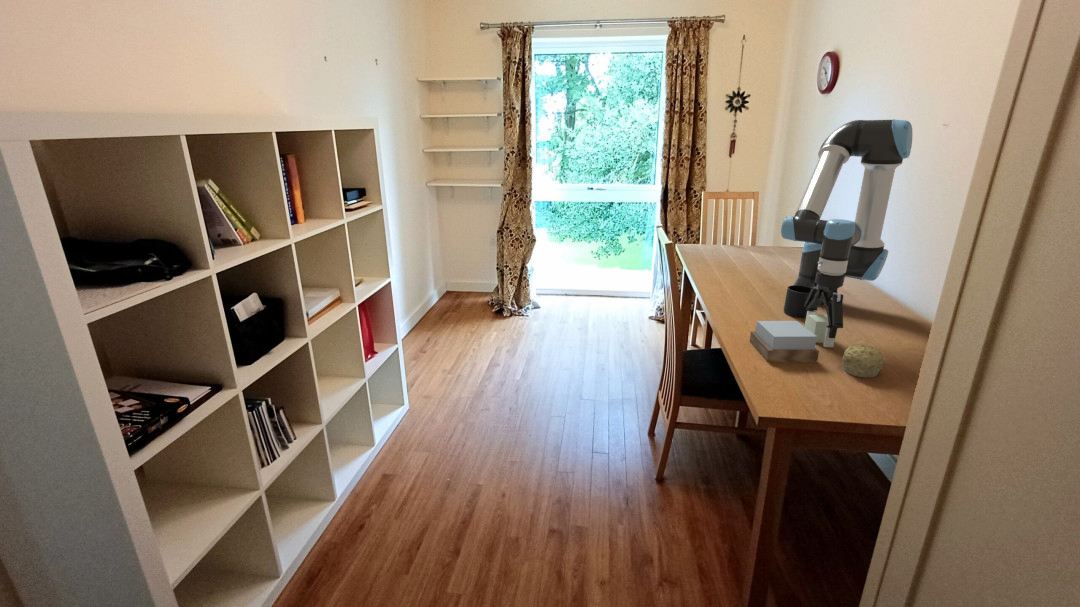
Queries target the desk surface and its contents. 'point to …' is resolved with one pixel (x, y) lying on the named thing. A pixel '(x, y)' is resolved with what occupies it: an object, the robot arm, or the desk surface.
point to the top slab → (785, 335)
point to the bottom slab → (782, 352)
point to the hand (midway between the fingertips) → (817, 338)
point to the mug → (796, 300)
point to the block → (817, 326)
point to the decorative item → (862, 360)
